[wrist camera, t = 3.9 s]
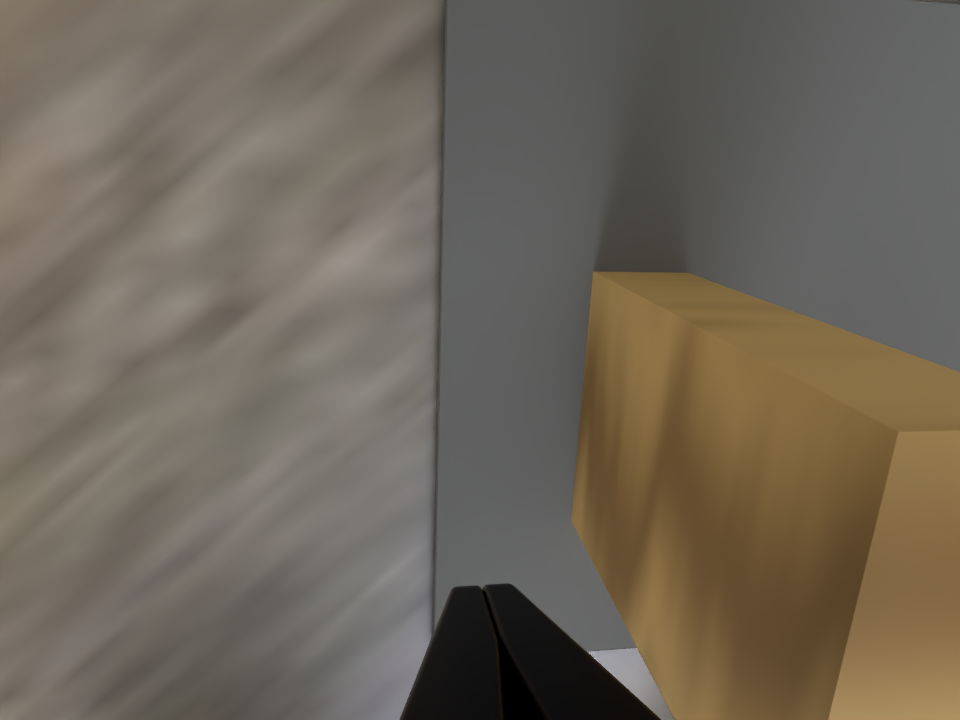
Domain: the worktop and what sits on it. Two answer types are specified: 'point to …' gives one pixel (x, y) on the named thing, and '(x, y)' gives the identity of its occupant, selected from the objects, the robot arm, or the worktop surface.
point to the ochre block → (770, 505)
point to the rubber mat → (666, 224)
